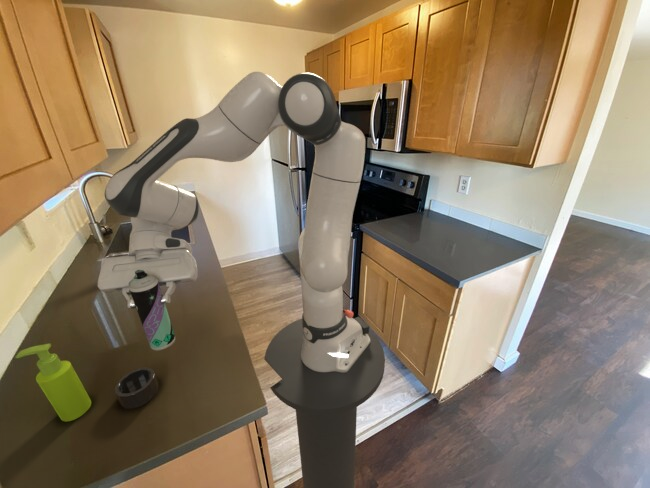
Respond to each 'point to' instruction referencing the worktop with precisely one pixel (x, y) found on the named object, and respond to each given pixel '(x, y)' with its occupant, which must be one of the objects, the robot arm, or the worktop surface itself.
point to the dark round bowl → (136, 388)
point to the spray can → (151, 310)
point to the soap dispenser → (59, 383)
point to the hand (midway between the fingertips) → (149, 305)
